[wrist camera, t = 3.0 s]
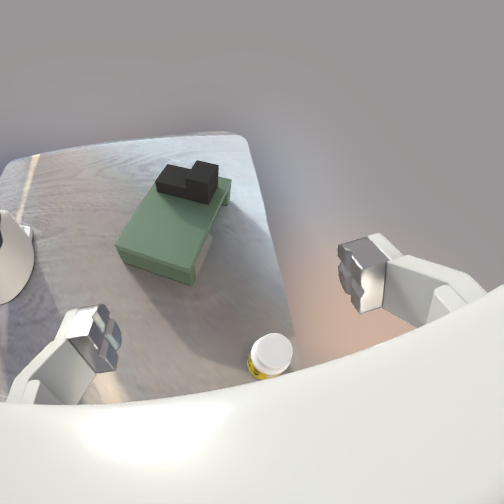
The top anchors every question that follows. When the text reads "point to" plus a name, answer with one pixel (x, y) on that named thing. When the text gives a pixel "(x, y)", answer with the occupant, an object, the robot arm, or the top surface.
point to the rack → (170, 232)
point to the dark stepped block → (189, 182)
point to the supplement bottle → (269, 356)
